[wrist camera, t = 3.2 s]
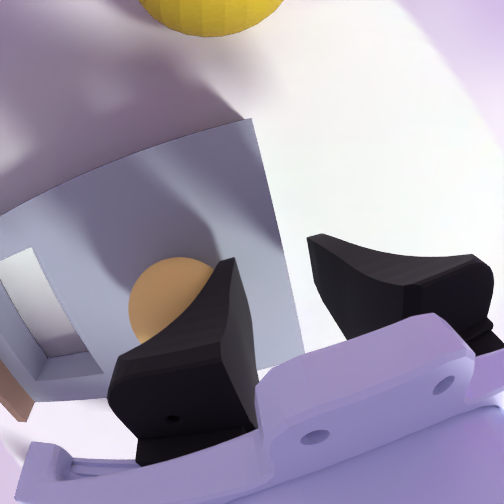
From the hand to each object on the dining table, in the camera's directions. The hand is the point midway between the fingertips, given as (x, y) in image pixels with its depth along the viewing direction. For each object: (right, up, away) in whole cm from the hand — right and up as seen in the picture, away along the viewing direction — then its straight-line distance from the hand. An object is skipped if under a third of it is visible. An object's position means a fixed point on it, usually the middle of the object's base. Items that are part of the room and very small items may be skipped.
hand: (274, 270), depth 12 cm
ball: (-3, -1, +1) cm, 4 cm away
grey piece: (-9, -1, +3) cm, 10 cm away
